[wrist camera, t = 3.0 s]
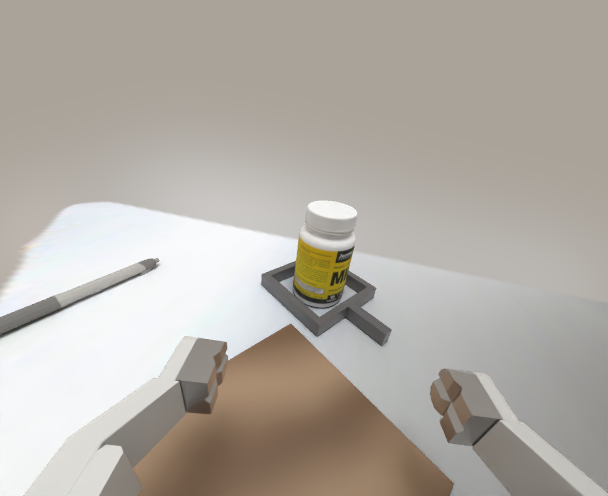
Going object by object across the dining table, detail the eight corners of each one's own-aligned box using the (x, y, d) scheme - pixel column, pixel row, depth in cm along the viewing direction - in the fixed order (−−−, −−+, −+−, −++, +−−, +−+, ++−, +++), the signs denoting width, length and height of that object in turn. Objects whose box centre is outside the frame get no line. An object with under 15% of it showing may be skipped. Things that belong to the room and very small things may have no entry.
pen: (163, 269, 24) (160, 257, 23) (-83, 381, 13) (-102, 365, 13) (157, 265, 24) (154, 253, 24) (-87, 371, 14) (-105, 355, 13)
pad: (448, 488, 12) (453, 483, 11) (191, 1104, 4) (187, 1136, 4) (290, 329, 19) (290, 323, 19) (92, 449, 11) (88, 442, 11)
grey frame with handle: (407, 320, 21) (412, 310, 21) (354, 371, 16) (358, 360, 16) (317, 260, 28) (318, 251, 27) (261, 284, 23) (261, 274, 23)
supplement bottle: (331, 317, 21) (352, 227, 16) (283, 296, 22) (291, 209, 18) (348, 287, 24) (368, 207, 20) (306, 271, 26) (316, 194, 22)
